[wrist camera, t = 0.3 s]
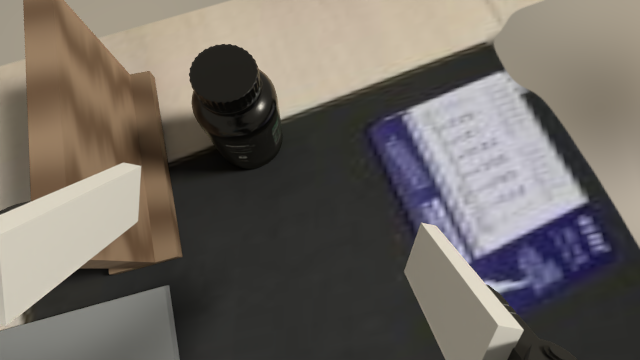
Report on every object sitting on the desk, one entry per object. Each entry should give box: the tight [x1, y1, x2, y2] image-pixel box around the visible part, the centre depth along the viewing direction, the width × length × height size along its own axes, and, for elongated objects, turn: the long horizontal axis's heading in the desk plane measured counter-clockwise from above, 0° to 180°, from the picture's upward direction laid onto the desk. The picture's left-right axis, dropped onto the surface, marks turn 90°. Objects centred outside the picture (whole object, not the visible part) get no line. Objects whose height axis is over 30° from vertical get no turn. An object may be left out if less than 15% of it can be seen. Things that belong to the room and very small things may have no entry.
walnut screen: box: [23, 0, 182, 275], centre depth 26 cm, size 20×6×12 cm, turn 15°
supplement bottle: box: [189, 44, 282, 169], centre depth 28 cm, size 7×7×12 cm
